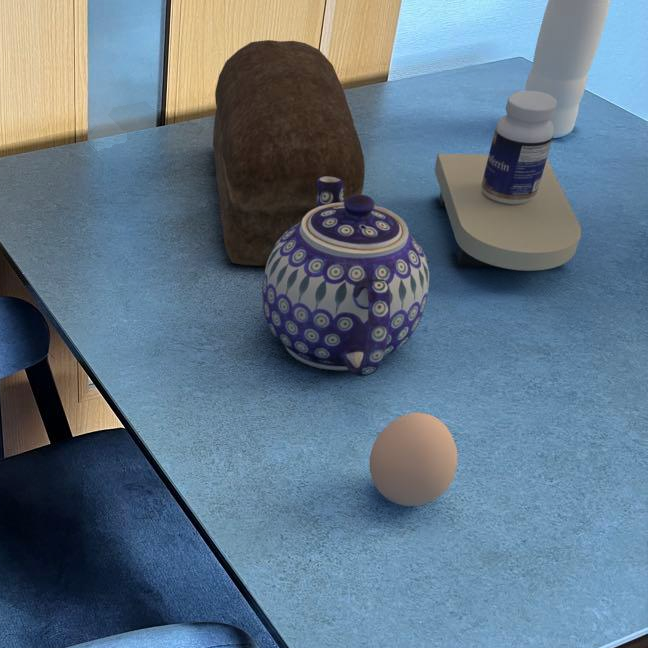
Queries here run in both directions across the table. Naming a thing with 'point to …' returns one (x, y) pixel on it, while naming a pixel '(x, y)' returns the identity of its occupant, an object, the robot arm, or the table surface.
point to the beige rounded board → (505, 219)
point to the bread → (278, 143)
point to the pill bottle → (520, 148)
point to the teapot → (345, 283)
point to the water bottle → (566, 55)
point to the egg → (413, 459)
